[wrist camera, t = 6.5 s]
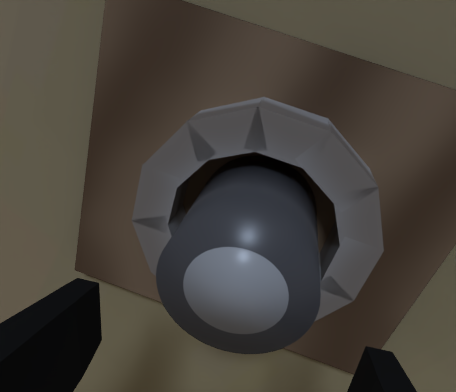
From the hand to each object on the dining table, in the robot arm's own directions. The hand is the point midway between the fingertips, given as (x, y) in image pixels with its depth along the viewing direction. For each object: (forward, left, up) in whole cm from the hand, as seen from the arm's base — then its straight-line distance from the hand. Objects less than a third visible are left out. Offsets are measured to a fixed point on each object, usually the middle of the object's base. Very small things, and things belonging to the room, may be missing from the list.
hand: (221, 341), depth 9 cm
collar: (0, 0, -8) cm, 8 cm away
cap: (0, 0, -7) cm, 7 cm away
